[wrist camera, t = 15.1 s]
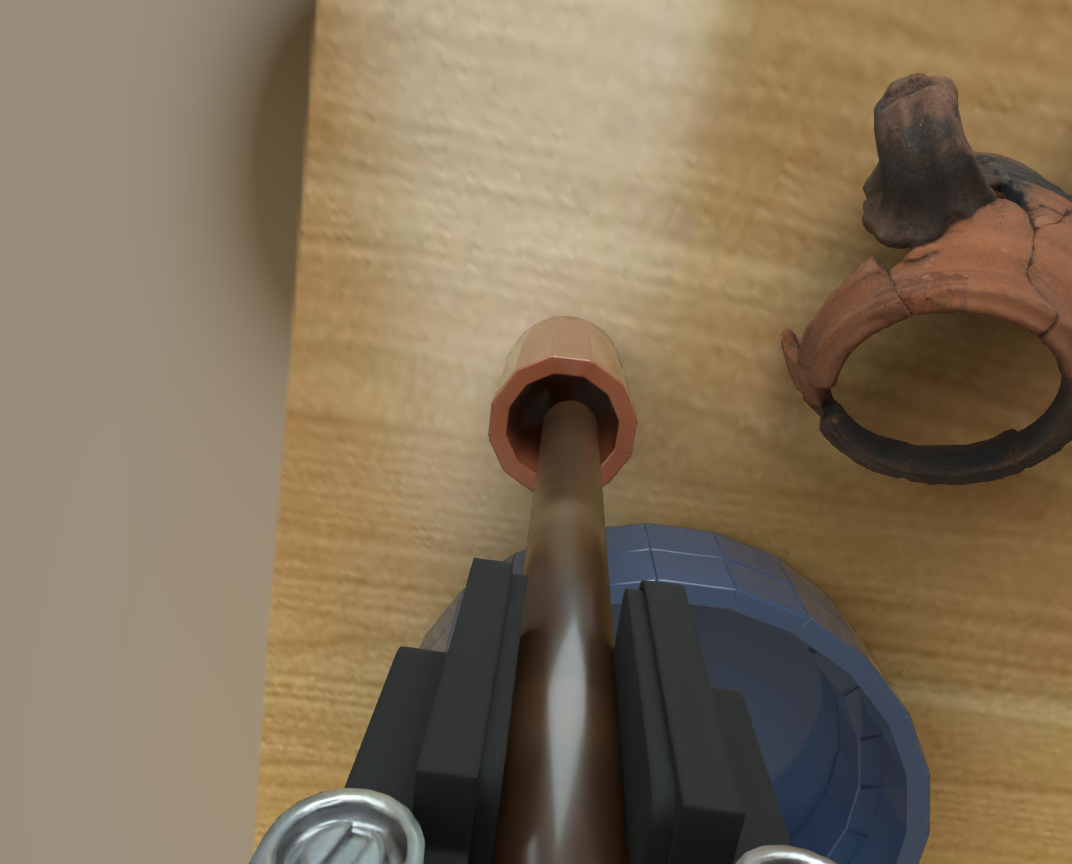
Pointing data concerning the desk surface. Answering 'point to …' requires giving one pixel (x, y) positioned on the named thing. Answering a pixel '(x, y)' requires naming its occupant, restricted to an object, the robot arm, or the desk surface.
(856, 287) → the pottery mug
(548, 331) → the holder
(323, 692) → the desk surface
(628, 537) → the bowl
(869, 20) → the desk surface
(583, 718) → the stick
